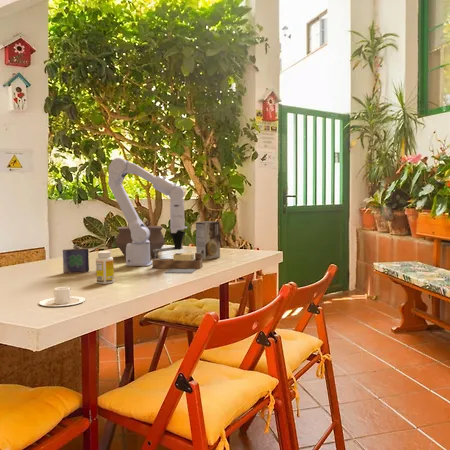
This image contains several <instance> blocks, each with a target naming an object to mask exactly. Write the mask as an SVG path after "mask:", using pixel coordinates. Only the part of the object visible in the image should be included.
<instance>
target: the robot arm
mask: <svg viewBox="0 0 450 450" xmlns="http://www.w3.org/2000/svg"><path fill="white" fill-rule="evenodd" d="M128 174H129V175H136V176H138V177H140V178H142V179H143V180H145V181H147V182H149V183H150V184H152V187H153V189H154V190H156V191H158V192H160V193H161V194H162V195H165V196H167V197H169V199H170V204H169V208H170V209H169V213H170V215H169V217H170V219H169V220H170V222H169V223H170V227H169V229H170V232H169V234H170V236H171V239H172V240H173V245H174V246H173V247H175V250H176V251H177V250H179V251H180V250H182V249H181V246H183V239H184V237H185V234H186V231H185V230H186V229H188V227H189V226H185V225H186V224H185V204H184V203H185V200H184V197H185V193H186V192H185V190H184V188H183V187H181V186H179V185H177V183H176V182H172V181H170V180H168V179H167V177H166V176H165V175H163V176H162V175H157V176H155V175H154V174H152V173H151V172H149V171H148V170H146V169H144V168H143V167H142V166H140V165H139V164H136V163H134V162H131V161H129V160H127V159H122V158H120V157H116V158H114V159H112V160H111V162H110V164H109V166H108V181H107V182H108V184H107V185H108V187H109V189H110V190H111V193H112V195H113V197H114V199H115V200H116V202H117V204H118V207H119V208H120V211H121V213H122V214H123V216H124V218H125V220H126V222H127V224H128V226H129V229H130V231H131V238H132V240H133V242H132V243H128V244H127V246H126V257H125V266H127V267H128V266H130V267H132V266H133V267H134V266H135V267H136V266H137V267H138V266H142V267H146V266H147V267H148V266H151V265H153V264H152V261H151V258H150V241H149V240H148V238H149V237H150V230H149V229H148V228H147V227H146V226H147V225H146V224H145V223H144V221H142V219H141V218H140V216H139V214H138V212H137V211H136V209H135V207H134V205H133V203H132V201H131V199H130V197H129V195H128V193H127V191H126V190H125V187H124V185H123V183H124V180H125V177H126V176H128ZM175 250H174V251H175Z"/></svg>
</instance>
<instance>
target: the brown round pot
mask: <svg viewBox="0 0 450 450" xmlns="http://www.w3.org/2000/svg"><path fill="white" fill-rule="evenodd" d="M150 224H151V222H150V221H149V220H148V219H147V220H146V221H145V222H144V225H145V226H146V227H147V228H148V229H149V230H150V237H149V238H148V240H149V241H150V259H151V257H152V258H155V253H154V252H153V249H162V248H163V246H164V244H165V243H166V240H165V237H164V235H163V233H162V229H163V228H164V226H162V225H150ZM117 230H118V231H119V232H118V235H117V236H116V240H115V244H116V246H117V247H118V248H119V250H120V251H121V253H122V254H123V255H124V257H125V258H126V246H127V244H128V243H132V242H133V240H132V238H131V231H130V229H129V225H128V226H118V227H117ZM159 253H160V252H158V254H159Z"/></svg>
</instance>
